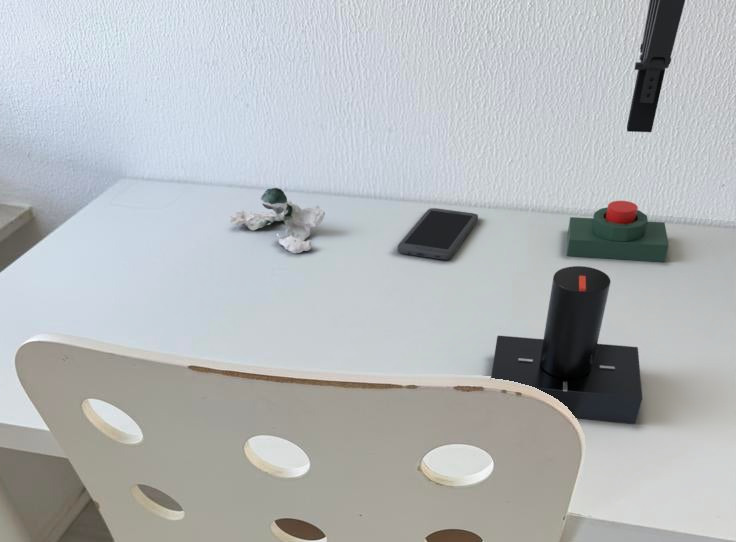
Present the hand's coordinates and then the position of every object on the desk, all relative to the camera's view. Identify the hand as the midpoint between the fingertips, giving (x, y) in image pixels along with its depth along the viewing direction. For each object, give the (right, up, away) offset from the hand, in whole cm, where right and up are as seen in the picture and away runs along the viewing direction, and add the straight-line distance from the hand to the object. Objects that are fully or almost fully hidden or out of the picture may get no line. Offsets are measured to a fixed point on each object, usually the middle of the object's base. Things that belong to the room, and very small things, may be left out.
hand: (638, 129), depth 90 cm
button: (0, -8, +7) cm, 11 cm away
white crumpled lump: (-44, -6, +17) cm, 47 cm away
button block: (+1, -10, +10) cm, 14 cm away
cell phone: (-22, -8, +14) cm, 27 cm away
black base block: (-13, -33, -13) cm, 37 cm away
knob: (-13, -31, -15) cm, 36 cm away
